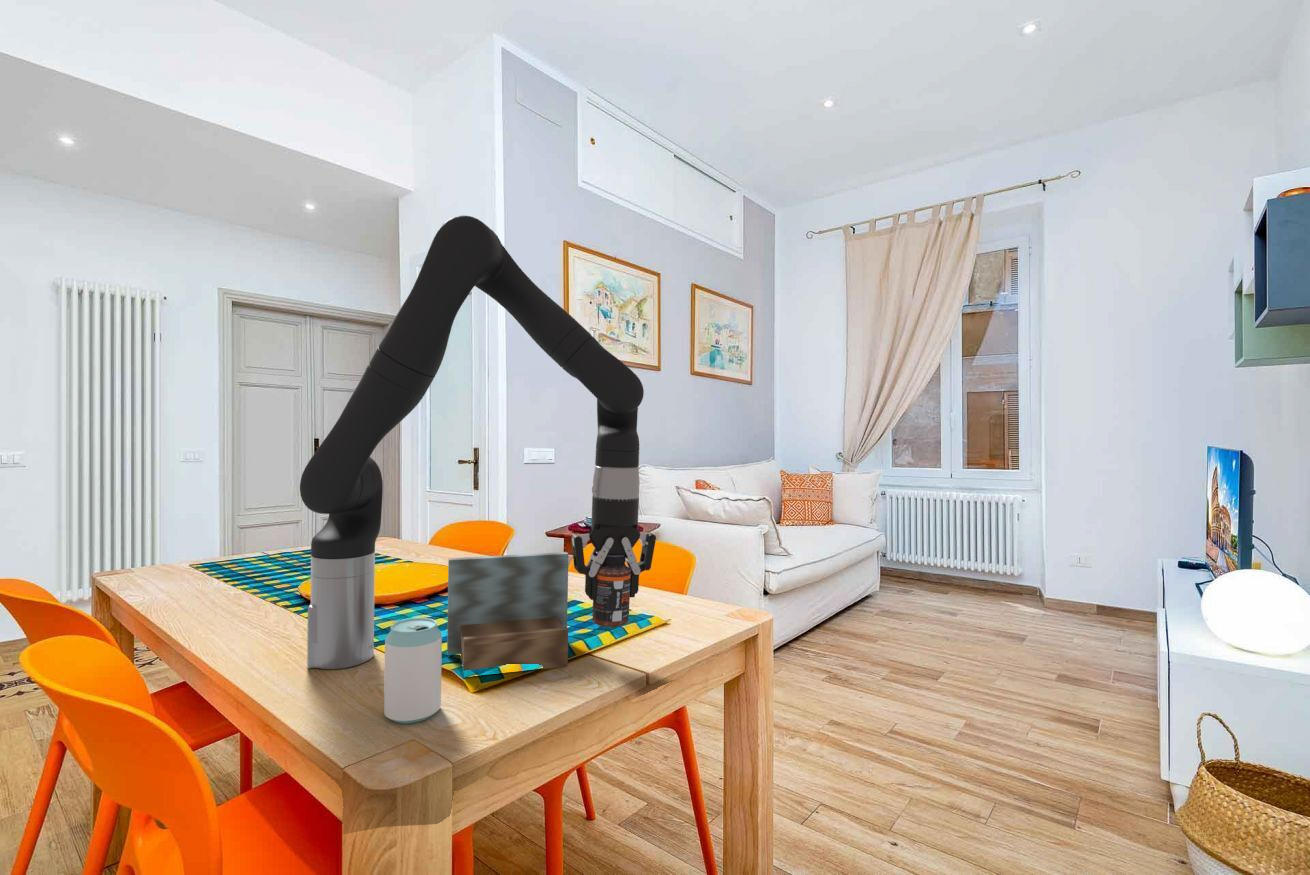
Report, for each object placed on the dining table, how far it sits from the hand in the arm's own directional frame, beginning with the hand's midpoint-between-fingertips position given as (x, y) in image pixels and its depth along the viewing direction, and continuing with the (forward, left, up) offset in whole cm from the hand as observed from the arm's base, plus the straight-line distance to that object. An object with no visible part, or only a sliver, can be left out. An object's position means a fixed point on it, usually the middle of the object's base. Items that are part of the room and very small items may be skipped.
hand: (611, 597), depth 101 cm
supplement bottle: (0, 0, -4) cm, 4 cm away
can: (-30, -8, -11) cm, 33 cm away
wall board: (-15, +7, -11) cm, 20 cm away
